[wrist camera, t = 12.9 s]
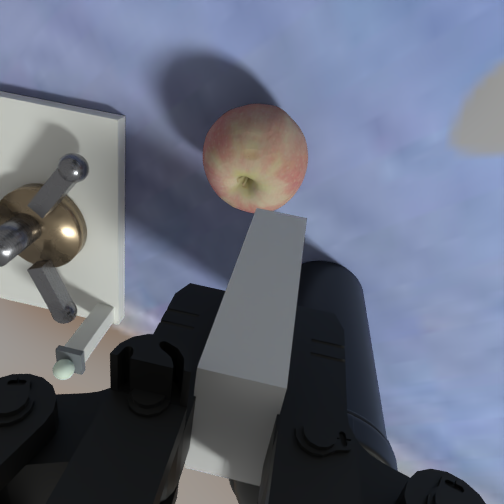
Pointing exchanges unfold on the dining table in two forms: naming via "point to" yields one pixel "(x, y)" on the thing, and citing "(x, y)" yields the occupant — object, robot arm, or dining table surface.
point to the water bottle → (356, 359)
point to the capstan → (46, 231)
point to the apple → (255, 157)
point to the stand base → (86, 199)
